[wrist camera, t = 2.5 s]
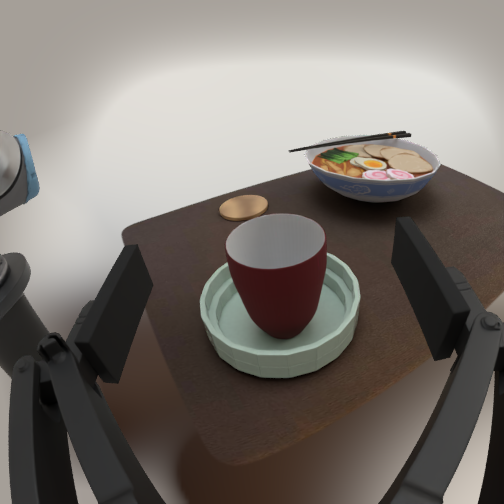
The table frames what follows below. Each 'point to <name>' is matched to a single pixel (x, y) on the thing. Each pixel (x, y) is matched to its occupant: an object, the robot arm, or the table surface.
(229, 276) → the serving bowl
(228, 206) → the coaster
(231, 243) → the mug
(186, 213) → the table surface
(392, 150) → the ramen bowl
